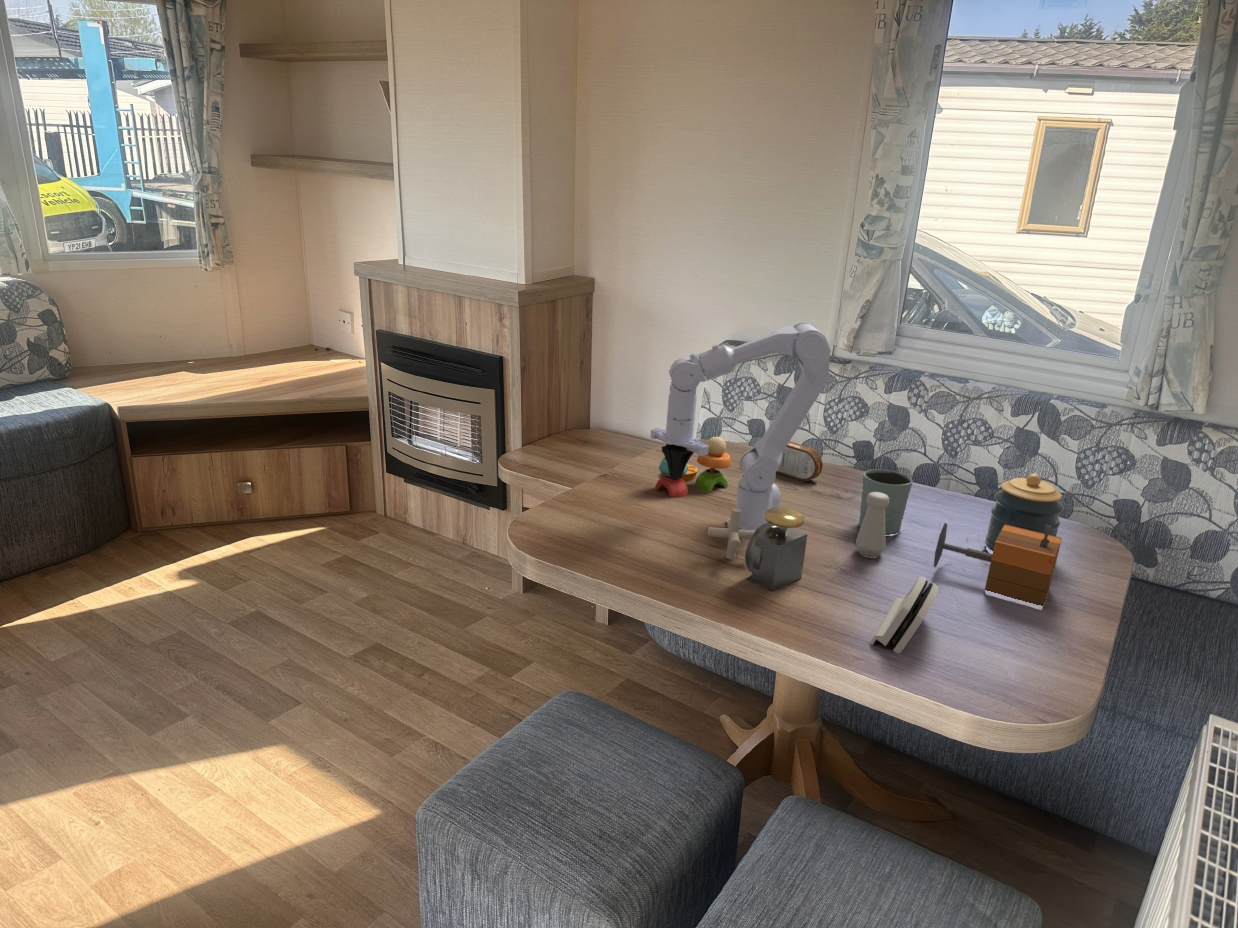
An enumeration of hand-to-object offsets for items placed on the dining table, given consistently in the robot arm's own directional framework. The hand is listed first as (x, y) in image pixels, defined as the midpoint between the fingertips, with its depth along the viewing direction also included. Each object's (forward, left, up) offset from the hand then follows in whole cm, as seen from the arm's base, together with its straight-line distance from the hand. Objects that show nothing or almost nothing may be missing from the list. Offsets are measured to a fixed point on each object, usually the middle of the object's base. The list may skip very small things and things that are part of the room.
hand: (675, 478), depth 185 cm
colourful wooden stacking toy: (-18, -14, -10) cm, 25 cm away
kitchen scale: (+5, +31, -9) cm, 33 cm away
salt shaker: (-20, +36, -10) cm, 42 cm away
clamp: (-27, +58, -10) cm, 64 cm away
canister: (-46, +55, -10) cm, 72 cm away
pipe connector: (+4, +20, -10) cm, 22 cm away
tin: (-46, -2, -10) cm, 47 cm away
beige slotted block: (+3, +57, -10) cm, 57 cm away
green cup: (-34, +30, -10) cm, 46 cm away
